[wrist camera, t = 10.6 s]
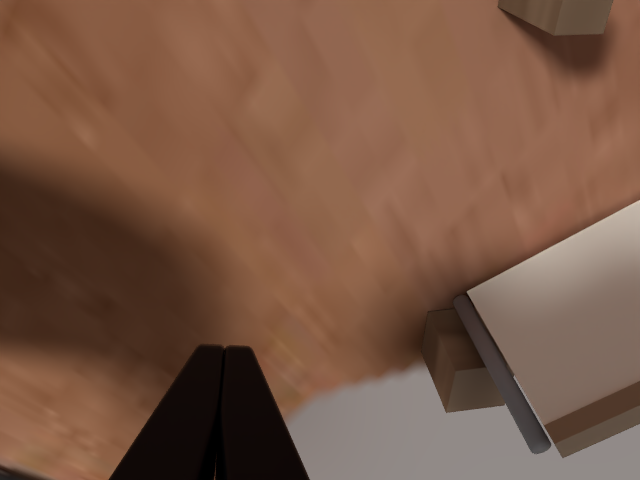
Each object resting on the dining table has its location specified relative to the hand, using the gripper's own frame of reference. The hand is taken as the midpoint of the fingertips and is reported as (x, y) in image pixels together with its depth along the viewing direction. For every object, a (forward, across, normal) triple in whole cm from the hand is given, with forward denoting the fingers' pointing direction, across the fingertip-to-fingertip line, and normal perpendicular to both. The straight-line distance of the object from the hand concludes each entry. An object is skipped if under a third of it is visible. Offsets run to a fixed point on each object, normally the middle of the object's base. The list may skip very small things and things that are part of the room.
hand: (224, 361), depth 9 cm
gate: (+14, -16, +6) cm, 22 cm away
